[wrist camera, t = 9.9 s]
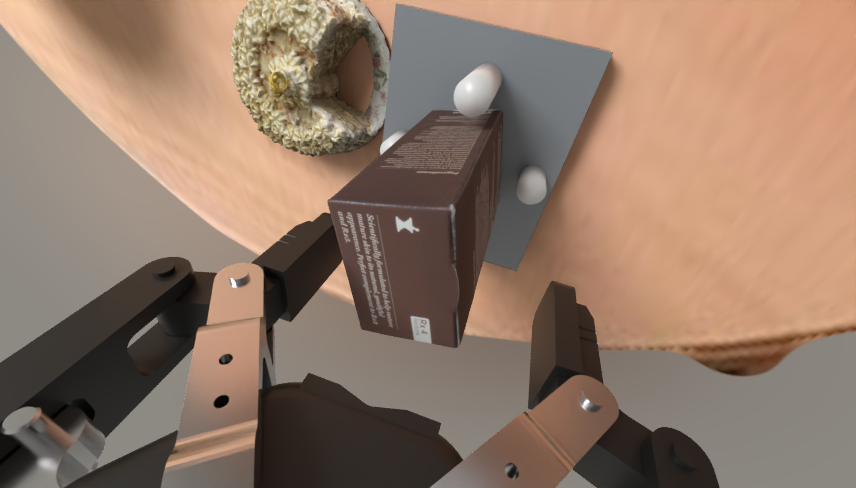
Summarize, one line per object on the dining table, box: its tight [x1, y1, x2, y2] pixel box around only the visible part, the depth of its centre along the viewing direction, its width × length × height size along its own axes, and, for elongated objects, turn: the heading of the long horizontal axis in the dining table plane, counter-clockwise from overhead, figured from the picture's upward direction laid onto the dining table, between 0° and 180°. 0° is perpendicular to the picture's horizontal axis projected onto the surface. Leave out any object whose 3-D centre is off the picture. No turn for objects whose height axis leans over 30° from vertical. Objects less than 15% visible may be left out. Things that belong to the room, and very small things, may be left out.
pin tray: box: [380, 4, 613, 271], centre depth 19 cm, size 11×14×6 cm
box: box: [328, 109, 503, 348], centre depth 16 cm, size 6×4×12 cm
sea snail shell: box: [230, 0, 391, 157], centre depth 20 cm, size 10×10×5 cm
